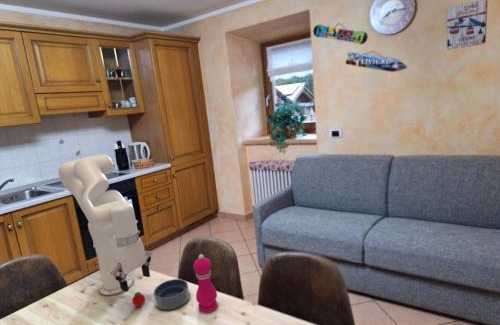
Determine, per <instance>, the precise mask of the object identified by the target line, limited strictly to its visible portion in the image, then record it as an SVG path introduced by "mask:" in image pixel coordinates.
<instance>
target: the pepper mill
mask: <svg viewBox="0 0 500 325" xmlns="http://www.w3.org/2000/svg"><path fill="white" fill-rule="evenodd" d="M211 268H212V262H211V260H210V259H209V258H208V257H205V256H204V254H202V253H200V254H199V255H198V258H197V259H195V261H194V263H193V271H194V272H195V275H196V278H197V281H198V286H197V290H196V293H195V299H196V302H197V303H198V309H199V311H200V312H202V313H205V314H206V313H212V312H213V311H215V310H216V309H217V308H218V303H217V298H218V293H217V290H216V287H215V286H214V284H213V282H212V281H211V280H212V279H211V276H212V271H211Z"/></svg>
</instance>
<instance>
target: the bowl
mask: <svg viewBox="0 0 500 325" xmlns="http://www.w3.org/2000/svg"><path fill="white" fill-rule="evenodd" d="M153 297H154V303H155V304H154V305H155V306H156V307H157V308H158V309H160V310H163V311H167V310H168V311H170V310H175V309H177V308H179V307H181V306H183V305H184V304H186V303H187V302H188V301H189V298H190V290H189V283H188V282H187V281H186V280H185V279H181V278H175V279H174V278H173V279H169V280H166V281H163V282H162V283H160V284H158V285H157V286H156V287H155V288H154V290H153Z"/></svg>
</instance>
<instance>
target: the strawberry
mask: <svg viewBox="0 0 500 325" xmlns="http://www.w3.org/2000/svg"><path fill="white" fill-rule="evenodd" d="M131 302H132V304H133V306H134V307H141V306H143V305H144V304H145V302H146V297H145V295H144V294H143V293H141V292H140V291H138V292H135V293H134V295H133V297H132V300H131Z"/></svg>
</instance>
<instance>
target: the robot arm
mask: <svg viewBox="0 0 500 325" xmlns="http://www.w3.org/2000/svg"><path fill="white" fill-rule="evenodd" d="M114 168H115V165H114V162H113V160H112V159H111V157H110V156H109V155H107V154H105V153H104V154H98V155H92V156H86V157H82V158H79V159H74V160H69V161H66V162H64V163H62V164H60V165H59V166H58V170H57V173H58V177H59V180H60V183H62V186H63V187H64V188H65V189H66V190H67V191H68V192H69V193H70V194H72V196H73V197H74V198H75V200H76V202H77V204H78V206H79V207H80V209H81V211H82V212H83V214H84V216H85V217H86V220H87V221H88V223H87V227H88V228H87V229H88V232H89V234H90V237H91V240H92V242H93V245H94V250H95V254H96V259H97V263H98V267H99V272H100V276H99V277H98V280H99V281H101V285H100V286H99V290H98V291H99V293H100V294H101V295H103V296H114V295H116V294H120V293H123V292H126V293H127V292H129V288H130V287H131V286H132V284H133V278H132V277H131V276H129V274H130V273H132V272H135V271H136V270H137V269H139V268H141V272H142V276H143V277H145V278H149V277H151V274H150V272H151V271H150V268H149V267H150V266H151V261H152V256H153V255H152V254H153V251H151V250H146V249H145V246H144V243H143V241H142V239H141V238H140V236H139V235H140V234H141V231H140V230H139V229H138V225H137V219H136V214H135V210H134V209H135V208H134V206H133V205H132V204H131V203H128V201H126V199H125V198H124V196H123V195H122V194H121V192H119V191H118V190H115V189H109V185H110V182H109V179H108V178H107V176H106V175H108V174H111V173H112V172H113V171H114ZM108 189H109V190H108Z"/></svg>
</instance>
